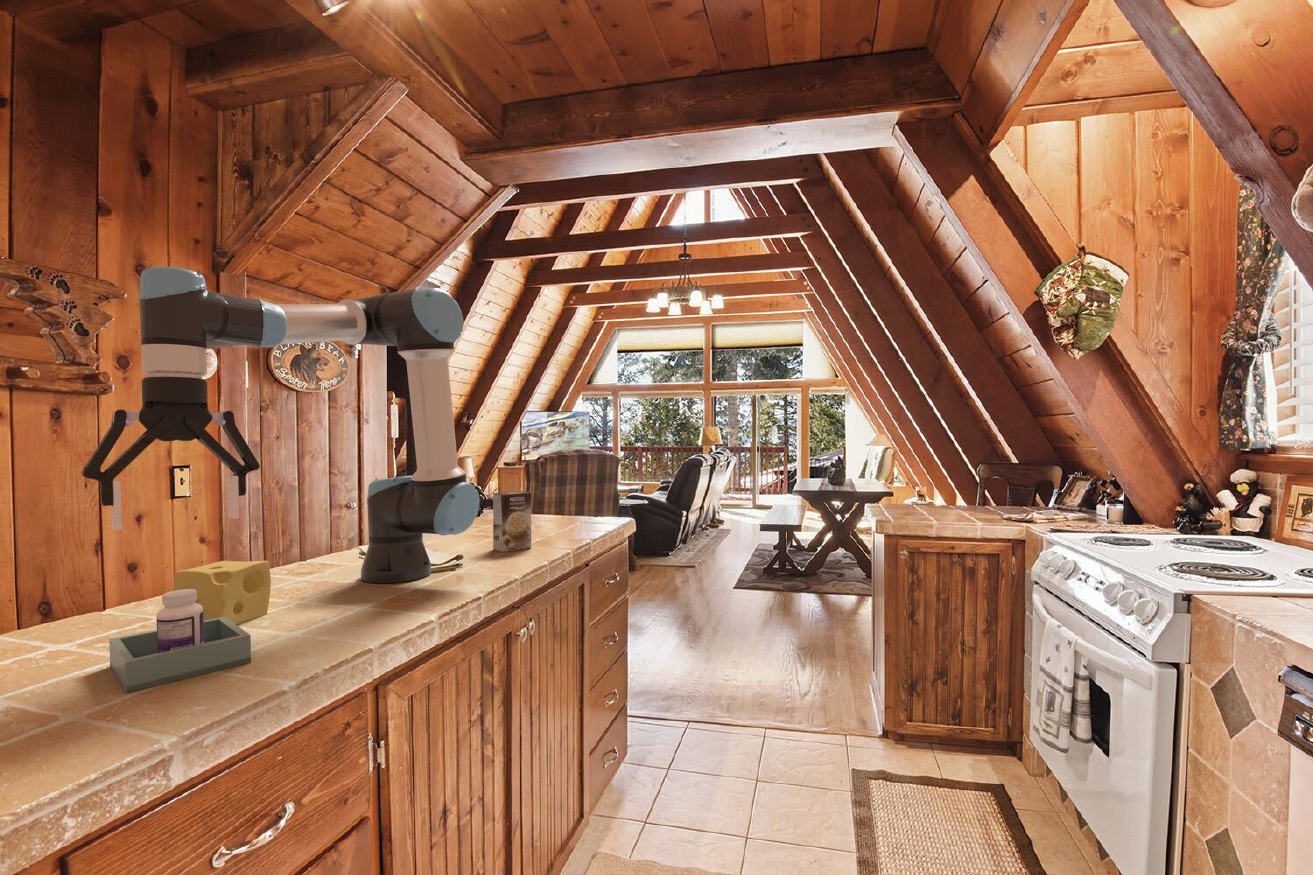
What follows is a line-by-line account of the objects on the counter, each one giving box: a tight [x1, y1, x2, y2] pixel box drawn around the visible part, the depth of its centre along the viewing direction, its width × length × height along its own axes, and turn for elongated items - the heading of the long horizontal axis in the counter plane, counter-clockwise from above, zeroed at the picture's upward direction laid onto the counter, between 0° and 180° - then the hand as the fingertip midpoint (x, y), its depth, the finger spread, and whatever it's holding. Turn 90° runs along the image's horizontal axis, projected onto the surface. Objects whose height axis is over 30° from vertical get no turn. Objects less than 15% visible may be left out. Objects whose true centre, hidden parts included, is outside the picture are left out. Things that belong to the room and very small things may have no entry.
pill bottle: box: [156, 589, 204, 653], centre depth 90 cm, size 5×5×10 cm
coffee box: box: [492, 491, 532, 553], centre depth 176 cm, size 9×6×16 cm
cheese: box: [174, 560, 272, 626], centre depth 111 cm, size 10×11×10 cm
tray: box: [108, 617, 252, 694], centre depth 90 cm, size 14×14×4 cm
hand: (178, 523), depth 90 cm, fingers open, 13 cm apart
